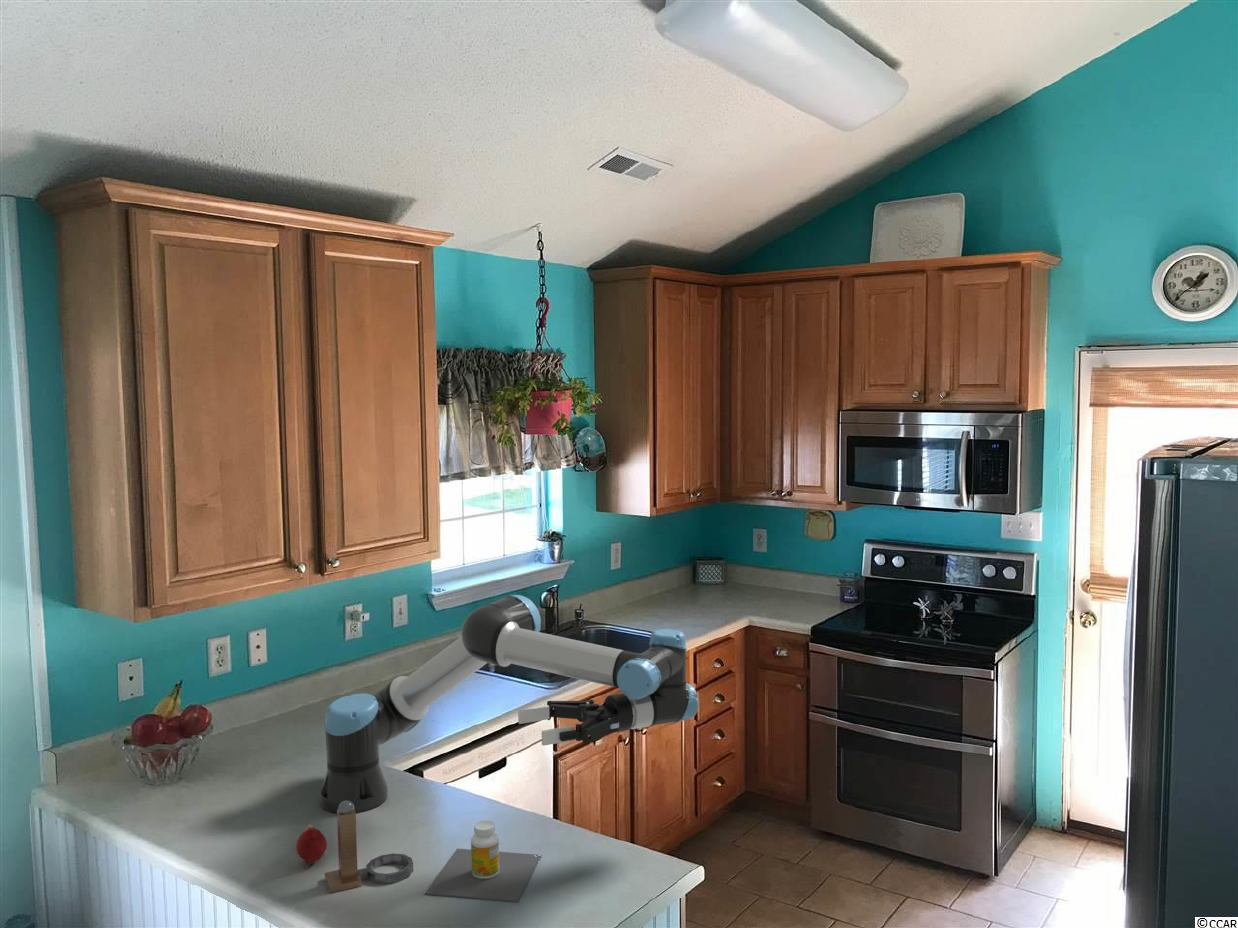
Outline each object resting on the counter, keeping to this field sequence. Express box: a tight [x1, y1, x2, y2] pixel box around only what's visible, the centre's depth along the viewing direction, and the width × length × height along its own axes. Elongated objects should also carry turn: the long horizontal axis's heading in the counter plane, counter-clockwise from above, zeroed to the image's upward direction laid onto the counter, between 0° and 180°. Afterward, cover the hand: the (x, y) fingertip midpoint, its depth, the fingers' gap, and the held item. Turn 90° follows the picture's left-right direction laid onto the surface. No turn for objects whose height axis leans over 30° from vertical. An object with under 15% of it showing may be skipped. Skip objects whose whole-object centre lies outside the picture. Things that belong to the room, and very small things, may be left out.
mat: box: [424, 848, 543, 903], centre depth 190 cm, size 18×18×1 cm
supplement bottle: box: [470, 820, 500, 879], centre depth 190 cm, size 5×5×10 cm
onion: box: [295, 824, 328, 865], centre depth 195 cm, size 6×6×8 cm
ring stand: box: [324, 800, 414, 894], centre depth 189 cm, size 14×16×16 cm
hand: (530, 727), depth 192 cm, fingers open, 13 cm apart
